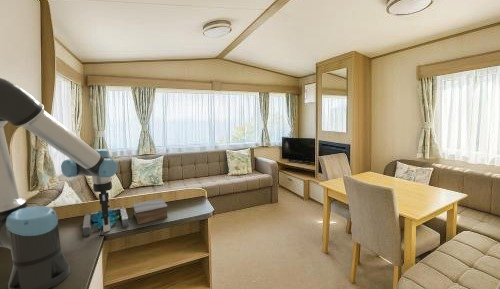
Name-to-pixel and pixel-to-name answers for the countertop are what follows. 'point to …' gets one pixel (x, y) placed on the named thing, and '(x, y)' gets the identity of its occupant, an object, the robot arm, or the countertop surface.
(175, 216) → the countertop surface
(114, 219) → the blue lumpy piece
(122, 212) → the cradle
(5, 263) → the countertop surface
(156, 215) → the dark brown wooden box
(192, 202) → the countertop surface
